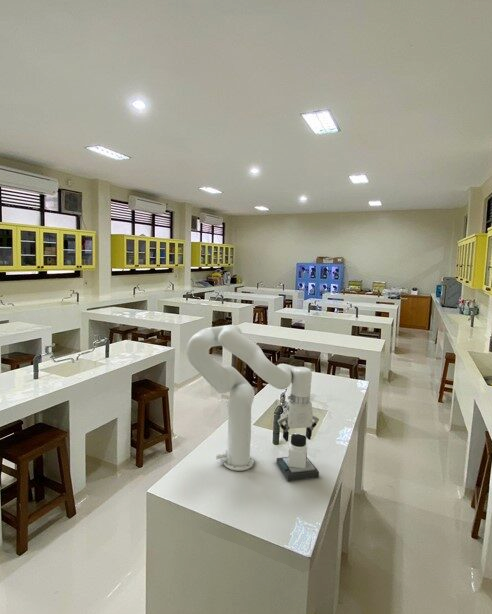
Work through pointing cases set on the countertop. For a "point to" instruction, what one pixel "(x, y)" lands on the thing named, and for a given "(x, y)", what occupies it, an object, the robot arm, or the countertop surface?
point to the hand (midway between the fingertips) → (297, 438)
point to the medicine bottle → (297, 451)
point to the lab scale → (297, 470)
